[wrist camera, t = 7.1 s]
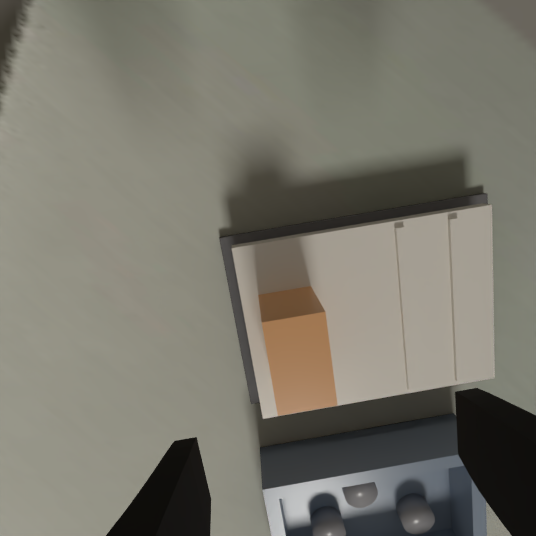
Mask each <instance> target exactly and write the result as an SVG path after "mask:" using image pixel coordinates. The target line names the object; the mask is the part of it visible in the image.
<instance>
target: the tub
mask: <svg viewBox="0 0 536 536" xmlns="http://www.w3.org/2000/svg"><path fill="white" fill-rule="evenodd" d="M260 456H261V472H262V488H263V494H264V499H265V505H266V510H267V515H268V520H269V525H270V530H271V535H272V536H487V529H486V500H485V499H484V497H483V496H482V495H481V493H480V492H479V490H478V489H477V487H476V485H475V484H474V482H473V480H472V479H471V477H470V475H469V473H468V472H467V470H466V468H465V466H464V464H463V463H462V461H461V459H460V457H459V455H458V444H457V421H456V416H455V415H454V413H453V414H447V415H442V416H436V417H430V418H425V419H419V420H414V421H408V422H402V423H397V424H391V425H385V426H380V427H374V428H369V429H363V430H357V431H352V432H346V433H340V434H335V435H329V436H324V437H318V438H312V439H307V440H301V441H295V442H290V443H284V444H279V445H273V446H267V447H262V448H260Z"/></svg>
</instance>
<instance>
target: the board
mask: <svg viewBox="0 0 536 536" xmlns="http://www.w3.org/2000/svg"><path fill="white" fill-rule="evenodd" d="M482 203H484V204H488V200H487V194H486V193H482V194H476V195H470V196H464V197H458V198H452V199H446V200H440V201H434V202H428V203H422V204H416V205H410V206H404V207H398V208H392V209H386V210H380V211H374V212H368V213H362V214H356V215H350V216H344V217H338V218H332V219H326V220H320V221H314V222H308V223H302V224H296V225H290V226H284V227H278V228H272V229H266V230H260V231H254V232H248V233H242V234H236V235H230V236H224V237H220V243H221V249H222V254H223V259H224V264H225V270H226V275H227V280H228V285H229V291H230V296H231V301H232V306H233V312H234V317H235V322H236V327H237V332H238V338H239V343H240V348H241V353H242V359H243V364H244V369H245V374H246V380H247V385H248V390H249V395H250V401H251V404H253V403H259V402H260V400H259V395H258V389H257V384H256V378H255V373H254V368H253V362H252V357H251V351H250V346H249V341H248V335H247V330H246V324H245V319H244V313H243V308H242V303H241V297H240V292H239V286H238V281H237V276H236V270H235V265H234V259H233V254H232V245H236V244H242V243H248V242H254V241H260V240H266V239H272V238H278V237H284V236H290V235H296V234H302V233H308V232H314V231H320V230H326V229H332V228H338V227H344V226H350V225H356V224H362V223H368V222H374V221H380V220H386V219H392V218H398V217H404V216H410V215H416V214H422V213H428V212H434V211H440V210H446V209H452V208H458V207H464V206H470V205H476V204H482Z"/></svg>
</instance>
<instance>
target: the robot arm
mask: <svg viewBox="0 0 536 536" xmlns="http://www.w3.org/2000/svg"><path fill="white" fill-rule="evenodd" d="M455 398H456V421H457V444H458V455H459V457H460V459H461V461H462V463H463V464H464V466H465V468H466V470H467V472H468V473H469V475H470V477H471V479H472V480H473V482H474V484H475V485H476V487H477V489H478V490H479V492H480V493H481V495H482V496H483V497H484V499H485V500H486V501H487V503H488V504H489V506H490V507H491V508H492V510H493V511H494V512H495V514H496V515H497V516H498V518H499V519H500V521H501V522H502V523H503V525H504V526H505V527H506V529H507V530H508V531H509V533H510V534H511V535H512V536H536V415H534V414H532V413H530V412H527V411H525V410H523V409H521V408H519V407H517V406H515V405H513V404H511V403H509V402H507V401H505V400H503V399H500V398H498V397H496V396H494V395H492V394H490V393H488V392H485V391H483V390H481V389H478V388H474V389H468V390H463V391H457V392H455ZM210 521H211V497H210V493H209V488H208V484H207V480H206V476H205V471H204V467H203V463H202V459H201V454H200V450H199V446H198V442H197V437H195V438H189V439H184V440H178V441H174V442H173V444H172V445H171V446H170V448H169V449H168V451H167V452H166V454H165V455H164V457H163V458H162V460H161V461H160V463H159V464H158V466H157V467H156V468H155V470H154V471H153V473H152V474H151V476H150V477H149V479H148V480H147V482H146V483H145V484H144V486H143V487H142V489H141V490H140V491H139V493H138V494H137V496H136V497H135V498H134V500H133V501H132V503H131V504H130V505H129V507H128V508H127V509H126V511H125V512H124V513H123V514H122V516H121V517H120V518H119V520H118V521H117V522H116V523H115V525H114V526H113V527H112V529H111V530H110V531H109V532H108V534H107V535H106V536H210Z"/></svg>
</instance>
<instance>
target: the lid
mask: <svg viewBox="0 0 536 536" xmlns="http://www.w3.org/2000/svg"><path fill="white" fill-rule="evenodd" d="M232 254H233V259H234V265H235V270H236V276H237V281H238V286H239V292H240V297H241V303H242V308H243V313H244V319H245V324H246V330H247V335H248V341H249V346H250V351H251V357H252V362H253V368H254V373H255V378H256V384H257V389H258V395H259V400H260V405H261V411H262V416H263V419H265V418H271V417H277V416H282V415H288V414H294V413H299V412H305V411H311V410H316V409H322V408H328V407H333V406H339V405H345V404H350V403H356V402H362V401H367V400H373V399H379V398H384V397H390V396H396V395H401V394H407V393H413V392H418V391H424V390H430V389H435V388H441V387H447V386H452V385H458V384H464V383H469V382H475V381H481V380H486V379H492V378H495V365H494V302H493V239H492V205H490V204H484V203H482V204H476V205H470V206H464V207H458V208H452V209H446V210H440V211H434V212H428V213H422V214H416V215H410V216H404V217H398V218H392V219H386V220H380V221H374V222H368V223H362V224H356V225H350V226H344V227H338V228H332V229H326V230H320V231H314V232H308V233H302V234H296V235H290V236H284V237H278V238H272V239H266V240H260V241H254V242H248V243H242V244H236V245H232Z"/></svg>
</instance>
